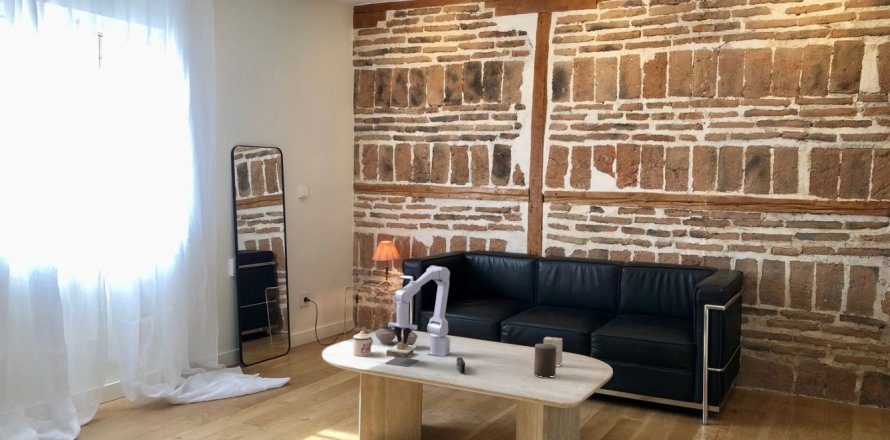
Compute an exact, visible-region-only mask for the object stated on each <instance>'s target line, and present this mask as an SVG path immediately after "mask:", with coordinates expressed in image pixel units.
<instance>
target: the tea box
mask: <svg viewBox="0 0 890 440" xmlns="http://www.w3.org/2000/svg"><path fill="white" fill-rule="evenodd" d="M389 349H390V348H389ZM389 349H387V350H386V357H391V358H392V357H393V358H396V357H401V358H408V357H409V356H411V354H412V355H413V354H414V349H413V350H411V351H410V352H408V353H399V352H391V351H389Z"/></svg>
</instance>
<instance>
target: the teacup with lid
mask: <svg viewBox="0 0 890 440" xmlns="http://www.w3.org/2000/svg"><path fill="white" fill-rule="evenodd" d="M352 340H353V344H352V345H353V349H352V351H353V352H352V354H353V355H354V356H355V357H368V356H370V355H371V354H372V346H373V343H374V340H373V338H372V336H371V335H370V334H367V333H366V332H365V331H364V330H360V332H359V333H357V334H354V335H353V336H352Z"/></svg>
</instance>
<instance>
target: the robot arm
mask: <svg viewBox="0 0 890 440" xmlns="http://www.w3.org/2000/svg"><path fill="white" fill-rule="evenodd" d="M450 276H451V271H450V270H449V269H448V268H447V267H446V266H445V267H444V266H438V265H430V266H429V267H428V268H426V271H425V272H424V273H423V274H421V276H420V277H419V278H418V279H416V280H411V281H409V282H408V284H407V285H405V286H403V288H402V289H398V290H396V291H395V293H394V295H393V298H394V301H395V304H396V322H391V321H390V322H389V323H388V327H391V328H392V329H393V330H394V332H395V334H396V336H395V338H396V340H397V343H399V342H400V341H401V334H402V332H403V336H404V344H406V343H407V340H408V336H409V334H410V332H411V330H412V331H416V330H418V325H417V324H413V323H410V321H409V320H410V319H409V317H410V316H409V314H410V313H409V312H410V305H409V304H410V302H411V300H412V298H413V296H415V295H416V294H417V293H418V292H420V290H421V287H422V286H423V285H425V284H427V282H429V281H431V280H433V281H434V282H435V283H436V285H437V291H436V296H435V297H436V299H435V305H434V312H433V316H432V317H430V319H429V322H428V324H427V327H426V330H427V332H428V334H429V336H430V340H429V341H430V343H429V344H430V346H429V347H430V349H429V350H430V351H429V352H427V355H431V356H441V357H446V356H447V355H449V354H450V353H451V338H450V337H448V336H447V335H448V333H449V321H448V320H447V319H446V317H445V316H446V309H447V302H448V296H449V288H450ZM404 328H405V329H404Z"/></svg>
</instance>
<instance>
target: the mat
mask: <svg viewBox="0 0 890 440" xmlns="http://www.w3.org/2000/svg"><path fill="white" fill-rule="evenodd" d="M419 360H420V359H416V358H408V357H406V358H401V357H393V358H392V359H390V360H388V361H387V362H385V365H391V366H392V365H393V366H397V367H398V366H399V367H407V368H408V367H410V366H412V365H414V364H415V363H418V362H419Z"/></svg>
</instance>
